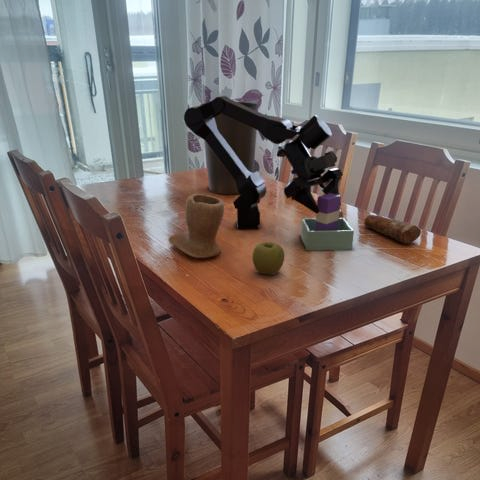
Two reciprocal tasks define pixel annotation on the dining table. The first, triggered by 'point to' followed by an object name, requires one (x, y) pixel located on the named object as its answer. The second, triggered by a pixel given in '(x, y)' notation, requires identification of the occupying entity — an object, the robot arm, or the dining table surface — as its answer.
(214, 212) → the stone cup
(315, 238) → the bin
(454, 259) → the dining table surface
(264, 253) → the apple
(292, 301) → the dining table surface
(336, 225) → the purple tall block
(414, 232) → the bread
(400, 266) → the dining table surface
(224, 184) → the waste basket
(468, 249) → the dining table surface
